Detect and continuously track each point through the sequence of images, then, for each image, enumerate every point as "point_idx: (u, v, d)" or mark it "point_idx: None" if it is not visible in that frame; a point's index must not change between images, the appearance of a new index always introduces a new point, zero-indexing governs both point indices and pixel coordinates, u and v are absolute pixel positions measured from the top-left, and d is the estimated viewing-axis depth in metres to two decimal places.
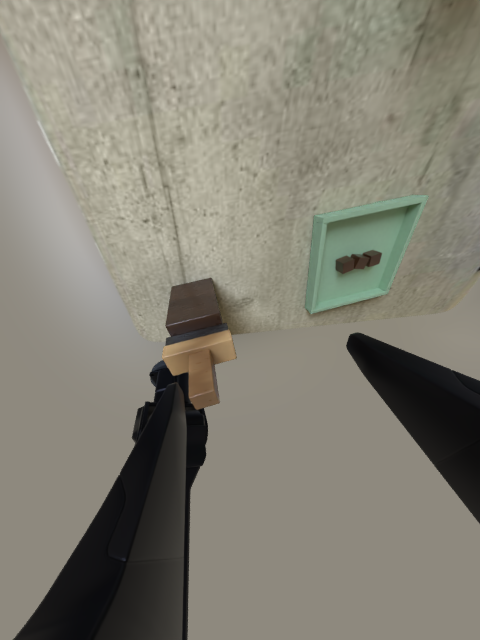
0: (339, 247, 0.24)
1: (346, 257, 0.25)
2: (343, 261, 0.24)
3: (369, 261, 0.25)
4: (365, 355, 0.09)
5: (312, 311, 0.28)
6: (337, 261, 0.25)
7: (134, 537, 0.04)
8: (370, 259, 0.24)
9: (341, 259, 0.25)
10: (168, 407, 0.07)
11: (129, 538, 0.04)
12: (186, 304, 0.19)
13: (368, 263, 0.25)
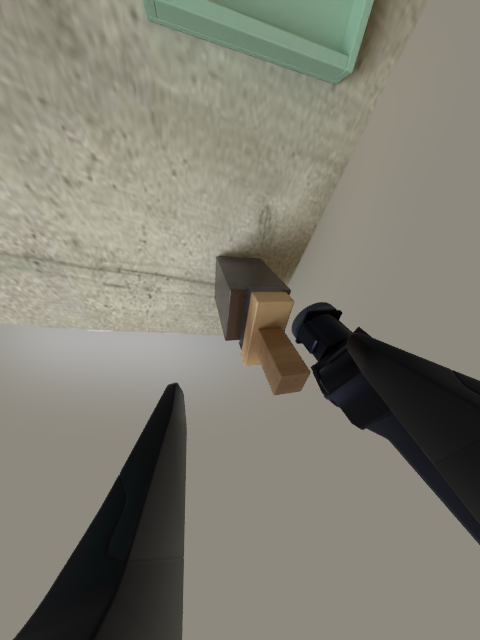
0: None
1: None
2: None
3: None
4: (365, 355, 0.09)
5: (349, 66, 0.12)
6: None
7: (134, 537, 0.04)
8: None
9: None
10: (168, 407, 0.07)
11: (129, 538, 0.04)
12: (221, 305, 0.17)
13: None
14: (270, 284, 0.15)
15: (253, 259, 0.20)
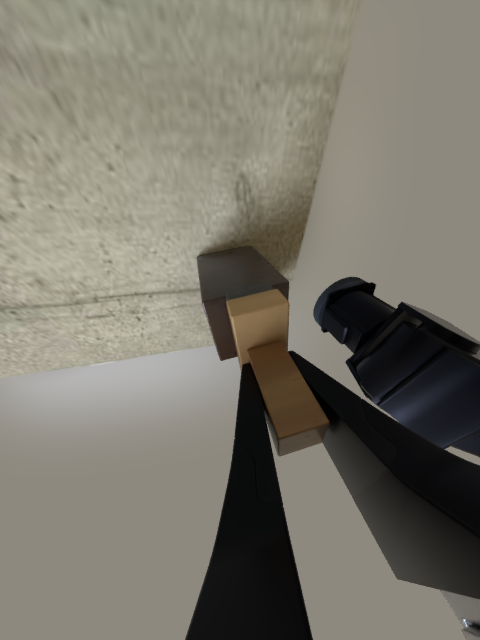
0: None
1: None
2: None
3: None
4: None
5: None
6: None
7: (277, 487, 0.05)
8: None
9: None
10: (253, 382, 0.07)
11: (272, 488, 0.05)
12: None
13: None
14: (260, 278, 0.11)
15: (242, 248, 0.16)
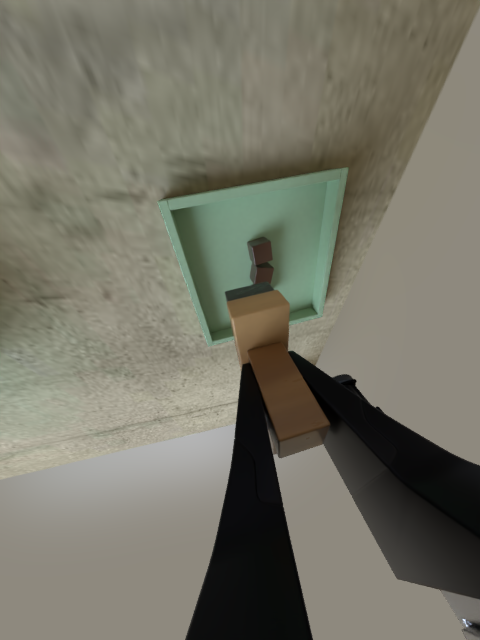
0: None
1: None
2: None
3: (263, 262, 0.15)
4: None
5: (318, 316, 0.21)
6: None
7: (277, 487, 0.05)
8: (260, 263, 0.15)
9: None
10: (253, 382, 0.07)
11: (272, 489, 0.05)
12: None
13: None
14: None
15: None
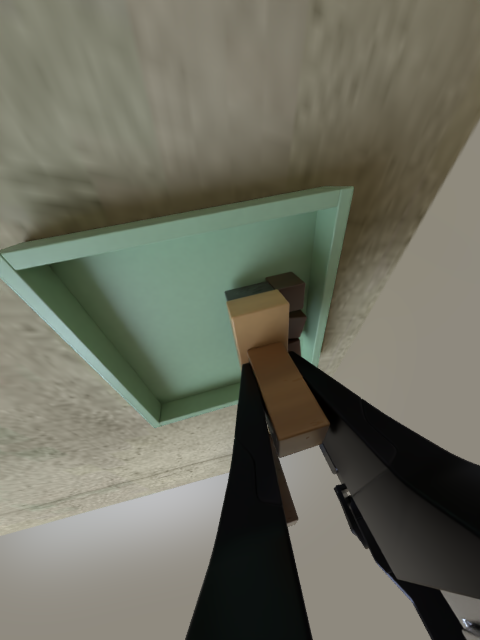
0: (195, 365, 0.13)
1: None
2: None
3: None
4: None
5: None
6: None
7: (277, 487, 0.05)
8: None
9: None
10: (253, 382, 0.07)
11: (272, 489, 0.05)
12: None
13: None
14: None
15: None
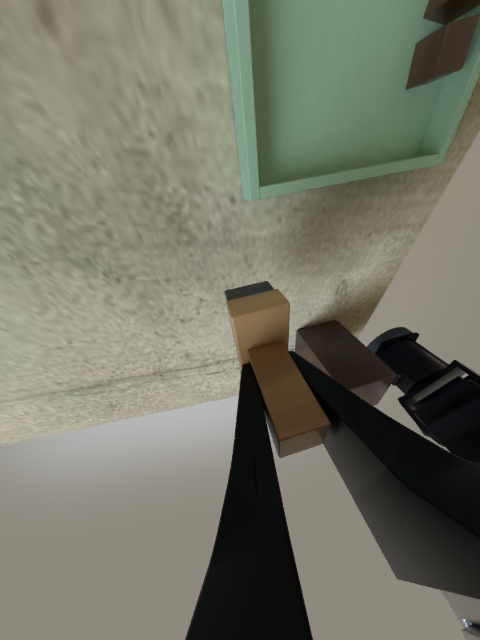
0: (312, 97, 0.10)
1: (420, 50, 0.09)
2: (427, 68, 0.09)
3: None
4: None
5: (439, 161, 0.12)
6: (413, 86, 0.10)
7: (277, 487, 0.05)
8: None
9: (417, 71, 0.10)
10: (253, 382, 0.07)
11: (272, 489, 0.05)
12: None
13: None
14: (372, 369, 0.16)
15: (331, 323, 0.21)
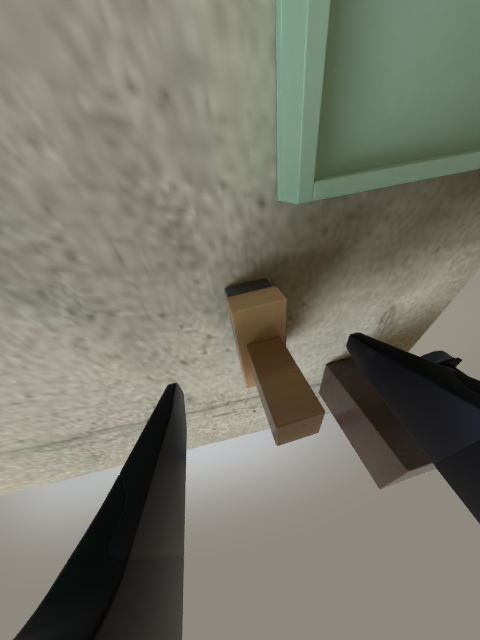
0: (412, 27, 0.06)
1: None
2: None
3: None
4: (365, 355, 0.09)
5: None
6: None
7: (134, 537, 0.04)
8: None
9: None
10: (168, 407, 0.07)
11: (129, 538, 0.04)
12: (357, 437, 0.15)
13: None
14: None
15: None
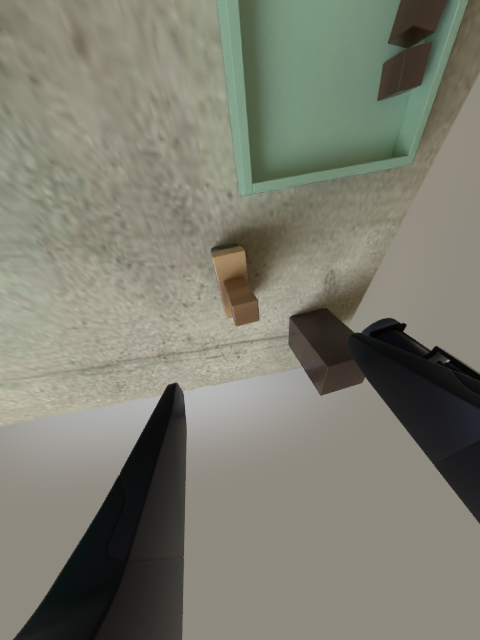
0: (297, 108, 0.12)
1: (387, 69, 0.11)
2: (392, 84, 0.11)
3: None
4: (365, 355, 0.09)
5: (408, 162, 0.14)
6: (383, 98, 0.12)
7: (134, 537, 0.04)
8: None
9: (385, 86, 0.12)
10: (168, 407, 0.07)
11: (129, 538, 0.04)
12: (308, 364, 0.21)
13: None
14: None
15: (322, 311, 0.23)
